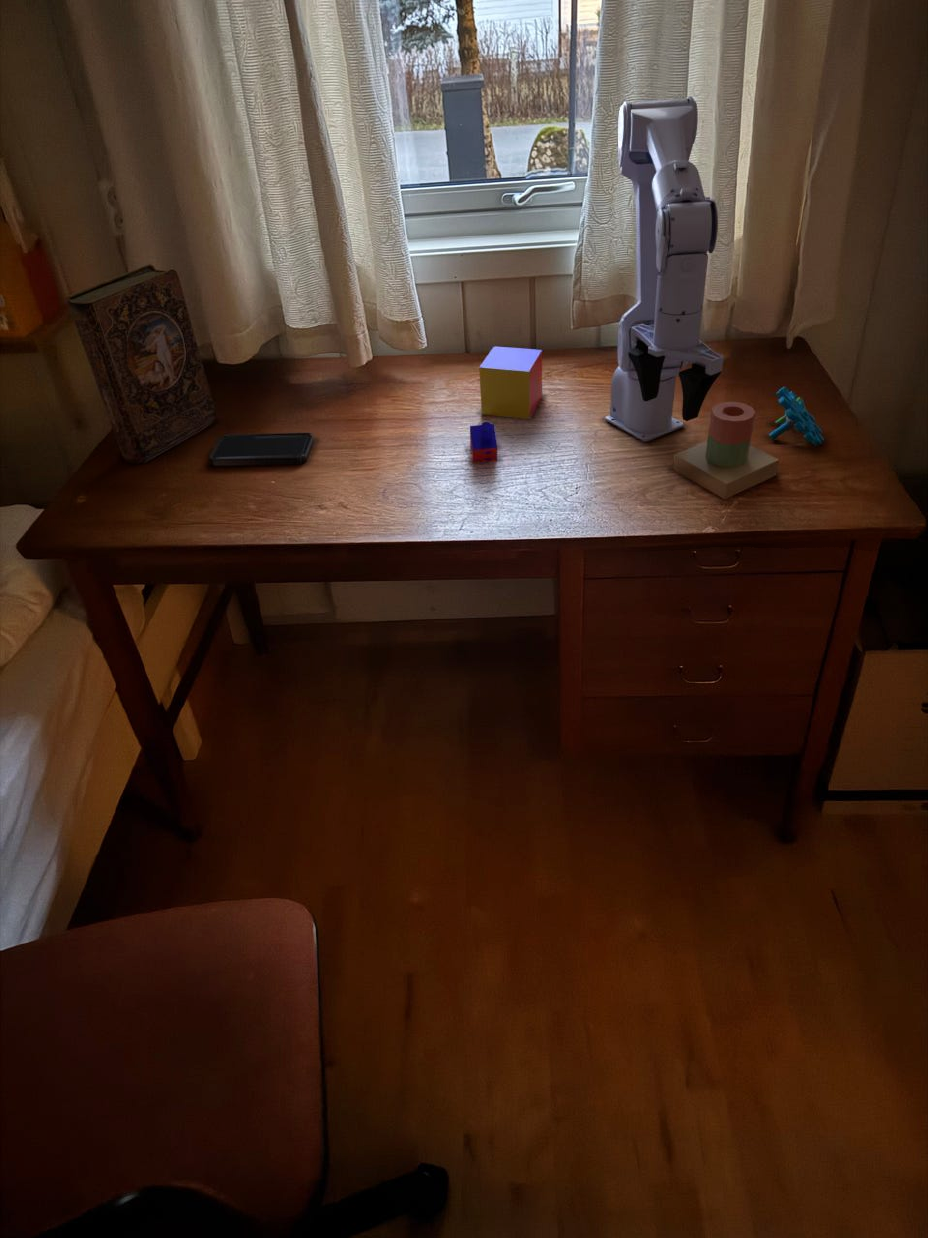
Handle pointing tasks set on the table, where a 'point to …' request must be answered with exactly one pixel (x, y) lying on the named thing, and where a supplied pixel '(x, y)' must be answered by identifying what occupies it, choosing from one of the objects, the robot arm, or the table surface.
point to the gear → (796, 418)
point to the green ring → (727, 453)
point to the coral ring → (731, 423)
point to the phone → (262, 449)
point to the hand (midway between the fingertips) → (669, 408)
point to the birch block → (725, 470)
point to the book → (144, 360)
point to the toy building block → (483, 442)
